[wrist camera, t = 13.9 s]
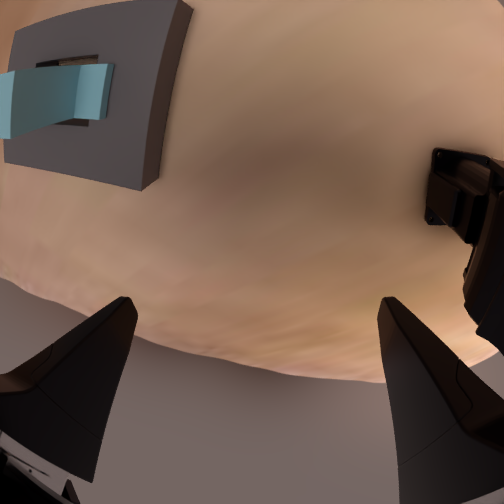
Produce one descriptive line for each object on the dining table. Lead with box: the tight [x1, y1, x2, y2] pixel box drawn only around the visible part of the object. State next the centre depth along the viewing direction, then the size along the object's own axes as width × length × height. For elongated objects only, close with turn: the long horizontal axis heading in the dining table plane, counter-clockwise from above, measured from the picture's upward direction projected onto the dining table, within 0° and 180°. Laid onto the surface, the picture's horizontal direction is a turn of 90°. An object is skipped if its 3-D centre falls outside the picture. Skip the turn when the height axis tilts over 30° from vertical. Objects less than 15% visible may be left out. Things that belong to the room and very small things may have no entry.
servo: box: [0, 64, 114, 139], centre depth 12 cm, size 11×4×11 cm, turn 75°
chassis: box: [4, 0, 193, 191], centre depth 15 cm, size 18×14×3 cm
